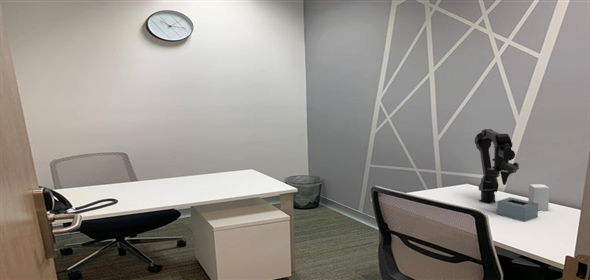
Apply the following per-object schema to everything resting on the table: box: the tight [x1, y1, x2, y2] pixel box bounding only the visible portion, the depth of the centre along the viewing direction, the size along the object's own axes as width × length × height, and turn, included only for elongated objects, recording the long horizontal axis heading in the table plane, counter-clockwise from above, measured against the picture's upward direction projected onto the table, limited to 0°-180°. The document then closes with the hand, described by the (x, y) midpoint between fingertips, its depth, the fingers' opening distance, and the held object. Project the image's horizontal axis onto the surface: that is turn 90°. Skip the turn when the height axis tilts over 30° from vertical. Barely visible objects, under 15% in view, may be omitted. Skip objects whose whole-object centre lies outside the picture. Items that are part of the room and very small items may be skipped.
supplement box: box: [527, 183, 550, 212], centre depth 204 cm, size 7×7×13 cm
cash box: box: [496, 196, 539, 222], centre depth 194 cm, size 14×12×7 cm
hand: (499, 185), depth 203 cm, fingers open, 9 cm apart
